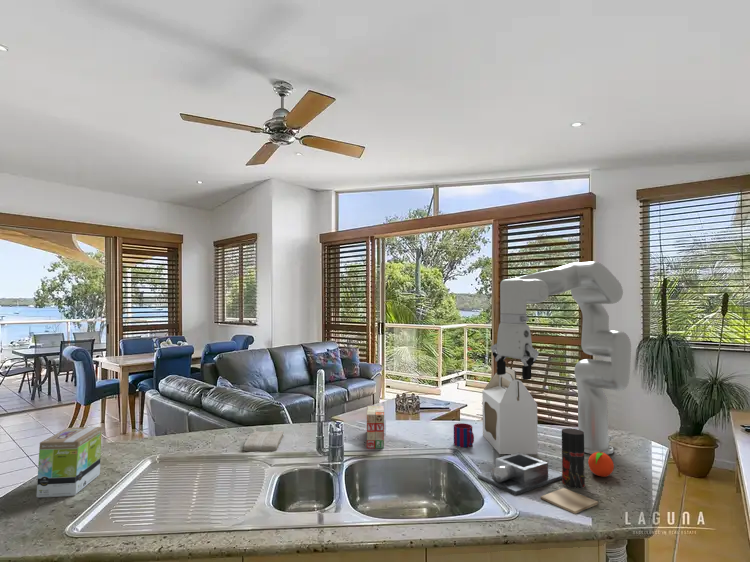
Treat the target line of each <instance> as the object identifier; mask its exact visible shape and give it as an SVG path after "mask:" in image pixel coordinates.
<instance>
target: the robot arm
mask: <svg viewBox="0 0 750 562" xmlns="http://www.w3.org/2000/svg"><path fill="white" fill-rule="evenodd" d="M499 287H500V289H499V291H500V292H499V293H500V294H499V296H500V301H499V302H500V303H499V304H500V306H499V308H500V311H499V312H500V320H499V321H500V323H499V325H498V330H497V337H496V338H497V339H496V343H494V344H493V345H490V350H491V353H492V356H493V357H494V361H495V362H496V367H497V368H496V373H497V375H503V374H506V367H507V366H506V365H507V362H506V361H505V360H506V358H509V359H518V360H519V359H520V362H522V364H523V365H522V367H521V371H522V372H521V374H522V376H521V377H522V380H523V381H527V380H532V366H534V363H535V362H536V361H537V359H538V357H539V354H540V352H539V351H538V350H536V349H535V348H534V347H533V343H532V342H533V339H532V333H531V329H530V325H529V324H527V322H529V320H530V317H528V316H527V304H539V303H543V302H545V301H546V300H547V299H548V297H549V296H554V295H559V294H563V293H565V292H568V291H570V295H571V296H572V298H573V300H574V301H575V302H576V304H577V305H578V307H579V309H580V310H581V314H582V326H581V328H582V329H581V341H580V342H581V344H580V345H581V350H582V351H583V353H584V354H586V355H590V356H595V357H603V358H610V361H607V360H602V359H601V360H600V359H593V358H592V359H591V358H584V359H581V360H579V361H577V362H576V364H575V366H574V370H573V371H574V376H575V377H574V378H575V382H576V388H577V413H578V415H577V416H578V417H577V418H578V420H577V421H578V424H577V425H578V428H577V429H578V430H581V431H583V432H584V454H585V453H586V454H589V455H592V454H593V453H595V452H603V453H605V454H607V455H608V456H609V455H612V454H613V453H614V448H613V446H611V445H610V442H612V441H613V440H614V439H615V437H614V435H613V434H609V402H608V397H607V395H606V393H605V391H604V390H603V389H606V390H610V391H616V392H617V391H618V392H619V391H623V390H624V391H625V390H626V389H627V388H628V386H629V383H630V379H631V378H630V377H631V359H632V344H631V343H632V342H631V339H630V337H629V335H628V334H627V333H626V332H624V331H622V330H614V329H609V327H610V326H609V324H610V323H609V322H610V316H609V313H608V311H607V309H606V308H605V307H604V304H606V305H612V304H616V303H619V302H620V301H621V300H622V298H623V293H624V292H623V291H624V289H623V287H622V284H621V282H620V281H619V280H618V279H617V277H616V276H615V275H614V274H613V273H612V272H611V271H610V270H609V268H607V267H606V266H605V265H603V264H602V263H601V262H598V261H582V262H571V263H568V264H563V265H561V266H558V267H554V268H552V269H547V270H542V271H538V272H533V273H530V274H525V275H520V276H517V277H515V278H507V279H503V280H501V281H500V286H499Z"/></svg>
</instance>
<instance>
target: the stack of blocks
mask: <svg viewBox="0 0 750 562" xmlns="http://www.w3.org/2000/svg"><path fill="white" fill-rule="evenodd" d="M384 407H385V406H384V405H367V410H366V449H385V408H384Z"/></svg>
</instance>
